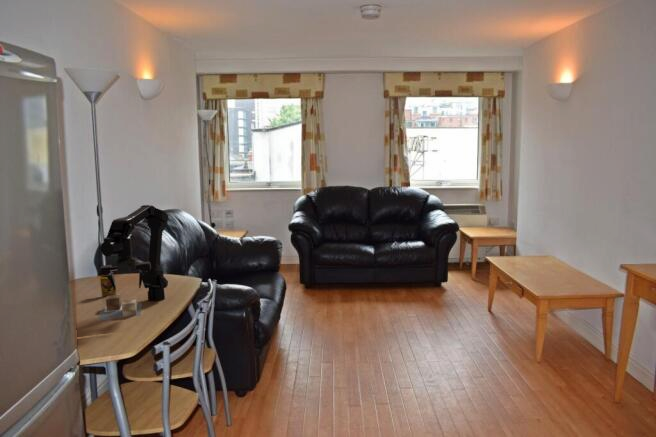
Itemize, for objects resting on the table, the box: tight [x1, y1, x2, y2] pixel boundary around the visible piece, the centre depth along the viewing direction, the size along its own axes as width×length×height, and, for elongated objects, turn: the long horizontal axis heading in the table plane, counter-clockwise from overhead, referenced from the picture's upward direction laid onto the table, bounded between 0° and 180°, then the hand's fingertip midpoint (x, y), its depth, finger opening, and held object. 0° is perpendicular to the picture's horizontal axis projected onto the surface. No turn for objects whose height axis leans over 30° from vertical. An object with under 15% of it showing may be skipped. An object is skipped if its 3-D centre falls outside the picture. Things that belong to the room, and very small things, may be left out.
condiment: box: [95, 275, 121, 299], centre depth 247 cm, size 7×8×12 cm
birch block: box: [121, 299, 137, 316], centre depth 218 cm, size 5×5×5 cm
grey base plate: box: [96, 302, 143, 322], centre depth 222 cm, size 16×18×1 cm
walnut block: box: [105, 294, 122, 311], centre depth 225 cm, size 5×5×5 cm
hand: (127, 289), depth 217 cm, fingers open, 9 cm apart
